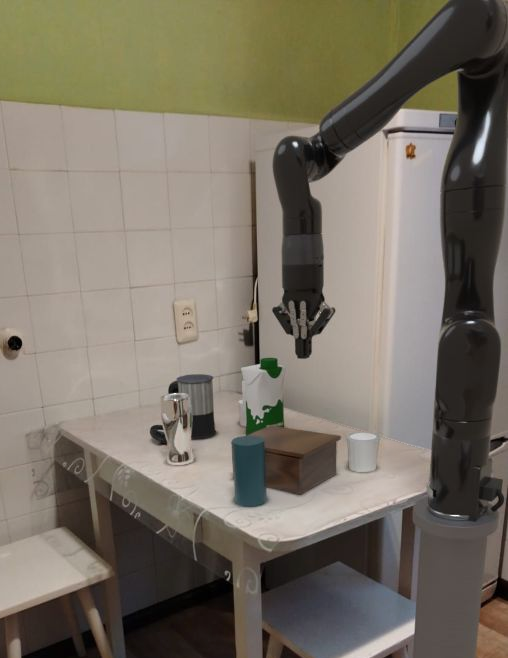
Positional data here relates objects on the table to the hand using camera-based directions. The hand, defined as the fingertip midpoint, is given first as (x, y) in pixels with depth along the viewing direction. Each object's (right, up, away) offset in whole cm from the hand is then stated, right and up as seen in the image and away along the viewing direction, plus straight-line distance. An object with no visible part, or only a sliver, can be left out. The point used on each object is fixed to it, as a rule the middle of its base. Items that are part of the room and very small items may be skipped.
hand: (303, 357), depth 121 cm
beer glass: (-25, -19, +25) cm, 40 cm away
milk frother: (-26, -12, +42) cm, 51 cm away
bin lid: (-3, -15, +9) cm, 18 cm away
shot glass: (+14, -21, +15) cm, 29 cm away
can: (-10, -27, +1) cm, 29 cm away
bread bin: (-3, -22, +12) cm, 25 cm away
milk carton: (-6, -13, +37) cm, 40 cm away
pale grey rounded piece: (-7, -8, +51) cm, 53 cm away
